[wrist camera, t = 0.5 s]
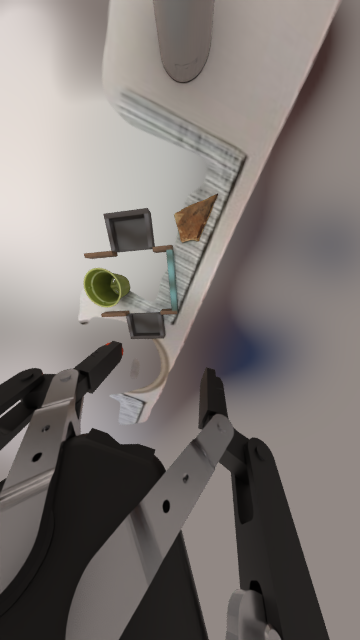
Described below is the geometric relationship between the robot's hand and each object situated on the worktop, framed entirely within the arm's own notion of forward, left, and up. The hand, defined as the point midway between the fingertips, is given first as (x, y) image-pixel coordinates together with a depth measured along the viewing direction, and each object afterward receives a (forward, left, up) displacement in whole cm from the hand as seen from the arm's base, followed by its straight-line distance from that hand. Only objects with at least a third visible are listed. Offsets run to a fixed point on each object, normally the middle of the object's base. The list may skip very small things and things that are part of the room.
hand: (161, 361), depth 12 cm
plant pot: (-5, -19, -29) cm, 35 cm away
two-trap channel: (-5, -14, -29) cm, 33 cm away
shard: (-20, +4, -30) cm, 36 cm away
